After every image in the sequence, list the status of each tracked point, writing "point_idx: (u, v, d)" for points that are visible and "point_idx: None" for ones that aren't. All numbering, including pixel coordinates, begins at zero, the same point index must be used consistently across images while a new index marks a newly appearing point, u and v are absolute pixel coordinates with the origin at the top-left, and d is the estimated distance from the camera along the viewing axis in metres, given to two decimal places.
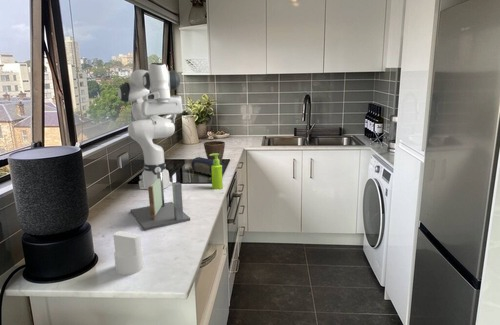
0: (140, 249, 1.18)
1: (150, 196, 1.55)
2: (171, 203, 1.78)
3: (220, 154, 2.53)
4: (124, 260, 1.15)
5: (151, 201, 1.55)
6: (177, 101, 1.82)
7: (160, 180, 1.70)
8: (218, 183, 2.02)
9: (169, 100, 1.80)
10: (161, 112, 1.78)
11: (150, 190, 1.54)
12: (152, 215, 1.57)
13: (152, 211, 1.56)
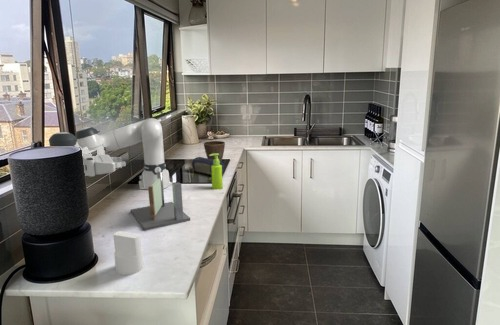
0: (140, 249, 1.18)
1: (150, 196, 1.55)
2: (171, 203, 1.78)
3: (220, 154, 2.53)
4: (124, 260, 1.15)
5: (151, 201, 1.55)
6: None
7: (160, 180, 1.70)
8: (218, 183, 2.02)
9: None
10: (110, 158, 1.49)
11: (150, 190, 1.54)
12: (152, 215, 1.57)
13: (152, 211, 1.56)
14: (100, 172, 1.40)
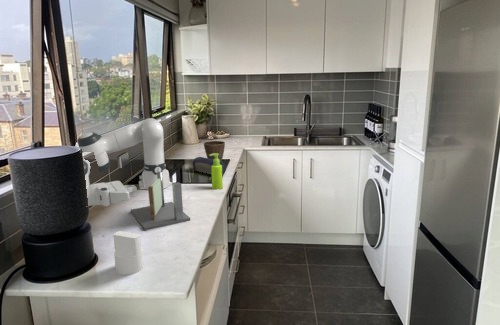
0: (140, 249, 1.18)
1: (150, 196, 1.55)
2: (171, 203, 1.78)
3: (220, 154, 2.53)
4: (124, 260, 1.15)
5: (151, 201, 1.55)
6: (105, 183, 1.56)
7: (160, 180, 1.70)
8: (218, 183, 2.02)
9: None
10: (122, 186, 1.52)
11: (150, 190, 1.54)
12: (152, 215, 1.57)
13: (152, 211, 1.56)
14: (115, 202, 1.43)
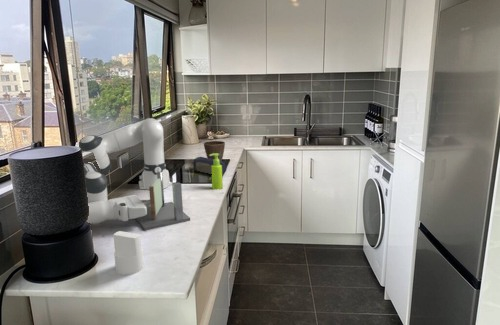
0: (140, 249, 1.18)
1: (151, 196, 1.55)
2: (171, 203, 1.78)
3: (220, 154, 2.53)
4: (124, 260, 1.15)
5: (152, 201, 1.55)
6: (122, 197, 1.61)
7: (160, 180, 1.70)
8: (218, 183, 2.02)
9: (123, 200, 1.58)
10: (139, 201, 1.57)
11: (151, 190, 1.54)
12: (153, 215, 1.57)
13: (153, 211, 1.56)
14: (133, 217, 1.48)
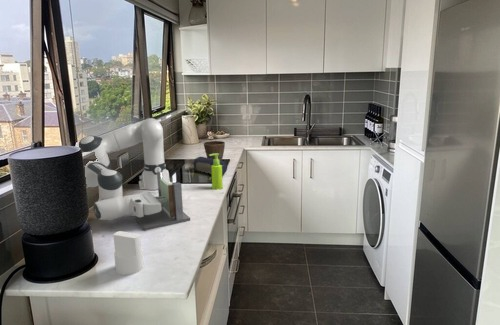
0: (140, 249, 1.18)
1: (171, 194, 1.57)
2: None
3: (220, 154, 2.53)
4: (124, 260, 1.15)
5: (171, 199, 1.57)
6: None
7: None
8: (218, 183, 2.02)
9: None
10: (154, 197, 1.60)
11: (171, 188, 1.56)
12: (172, 213, 1.59)
13: (172, 209, 1.59)
14: (148, 213, 1.51)
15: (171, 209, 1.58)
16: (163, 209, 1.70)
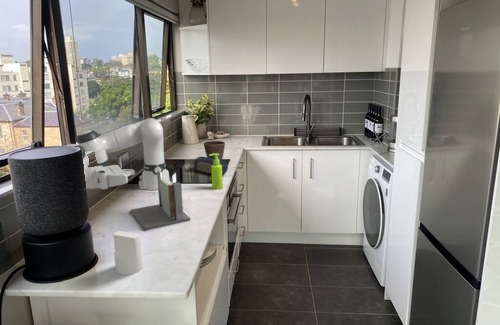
0: (140, 249, 1.18)
1: (171, 194, 1.57)
2: None
3: (220, 154, 2.53)
4: (124, 260, 1.15)
5: (172, 199, 1.57)
6: (103, 167, 1.54)
7: None
8: (218, 183, 2.02)
9: None
10: (120, 169, 1.50)
11: (171, 188, 1.56)
12: (172, 213, 1.59)
13: (172, 209, 1.59)
14: (113, 184, 1.41)
15: (171, 209, 1.58)
16: (163, 209, 1.70)
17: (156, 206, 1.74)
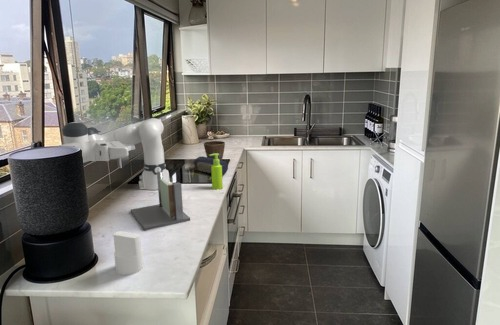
0: (140, 249, 1.18)
1: (171, 194, 1.57)
2: None
3: (220, 154, 2.53)
4: (124, 260, 1.15)
5: (172, 199, 1.57)
6: None
7: None
8: (218, 183, 2.02)
9: None
10: (121, 144, 1.55)
11: (171, 188, 1.56)
12: (172, 213, 1.59)
13: (172, 209, 1.59)
14: (114, 157, 1.47)
15: (171, 209, 1.58)
16: (163, 209, 1.70)
17: (156, 206, 1.74)
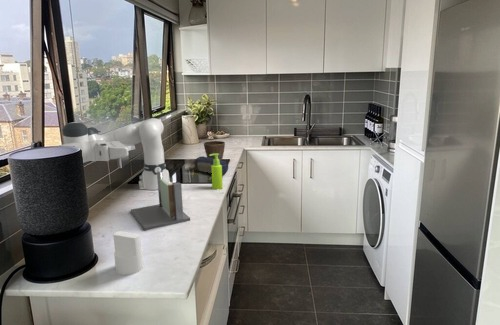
0: (140, 249, 1.18)
1: (171, 194, 1.57)
2: None
3: (220, 154, 2.53)
4: (124, 260, 1.15)
5: (172, 199, 1.57)
6: (105, 142, 1.60)
7: None
8: (218, 183, 2.02)
9: None
10: (121, 144, 1.55)
11: (171, 188, 1.56)
12: (172, 213, 1.59)
13: (172, 209, 1.59)
14: (114, 157, 1.47)
15: (171, 209, 1.58)
16: (163, 209, 1.70)
17: (156, 206, 1.74)
